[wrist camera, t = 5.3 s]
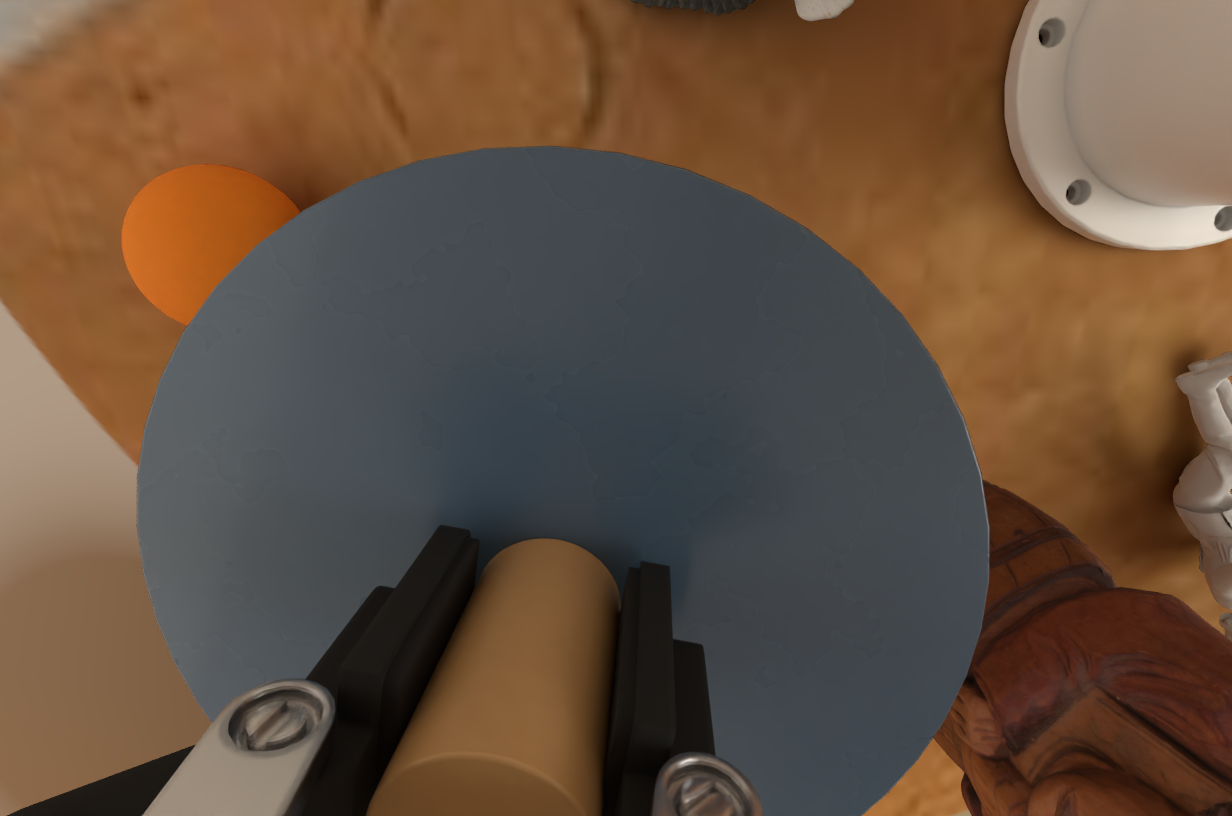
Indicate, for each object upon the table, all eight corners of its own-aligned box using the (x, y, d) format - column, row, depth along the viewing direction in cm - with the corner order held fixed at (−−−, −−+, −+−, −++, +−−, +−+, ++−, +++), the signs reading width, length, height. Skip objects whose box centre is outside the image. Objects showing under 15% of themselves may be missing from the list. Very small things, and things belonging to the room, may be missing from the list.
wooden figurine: (846, 487, 28) (1184, 924, 10) (996, 454, 27) (1629, 866, 10) (884, 704, 31) (1194, 1321, 13) (1019, 680, 30) (1532, 1300, 13)
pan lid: (1095, 242, 11) (1624, 268, 5) (836, 916, 16) (945, 1335, 10) (157, 76, 11) (-422, -87, 5) (190, 795, 16) (-86, 1136, 10)
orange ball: (347, 185, 25) (258, 173, 19) (341, 333, 27) (257, 362, 21) (198, 159, 25) (65, 140, 19) (202, 308, 27) (80, 331, 21)
